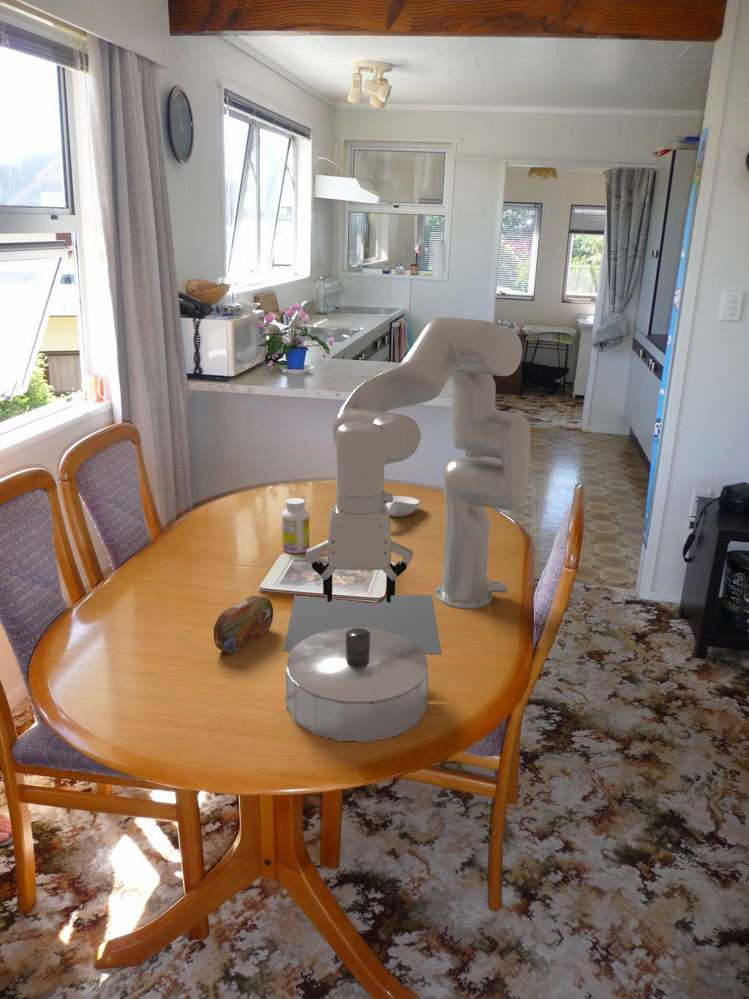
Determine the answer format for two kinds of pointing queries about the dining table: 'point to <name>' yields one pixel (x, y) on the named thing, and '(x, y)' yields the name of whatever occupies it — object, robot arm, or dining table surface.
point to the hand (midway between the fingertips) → (359, 598)
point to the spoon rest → (402, 506)
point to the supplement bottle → (295, 526)
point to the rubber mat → (366, 619)
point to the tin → (243, 623)
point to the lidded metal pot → (356, 684)
